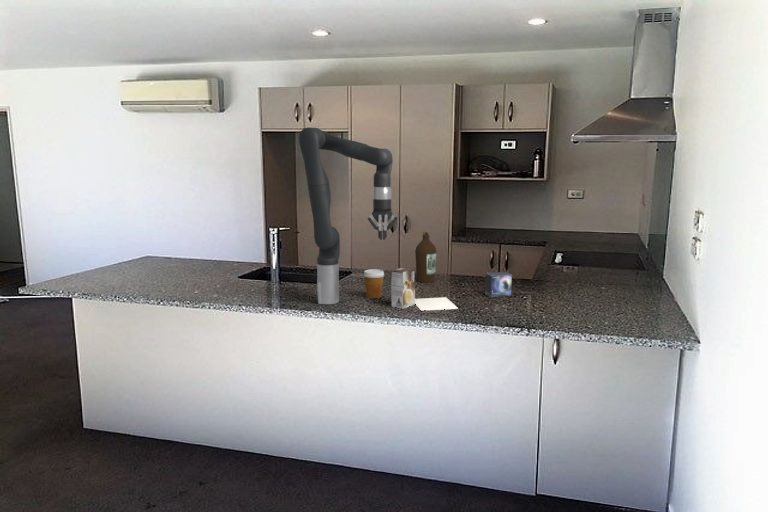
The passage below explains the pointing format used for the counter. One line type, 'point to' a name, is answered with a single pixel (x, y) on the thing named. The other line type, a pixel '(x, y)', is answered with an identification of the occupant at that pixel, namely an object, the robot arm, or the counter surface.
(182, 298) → the counter surface
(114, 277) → the counter surface
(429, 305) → the mat
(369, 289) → the disposable coffee cup
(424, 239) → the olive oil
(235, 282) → the counter surface
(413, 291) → the coffee box
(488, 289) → the small box
